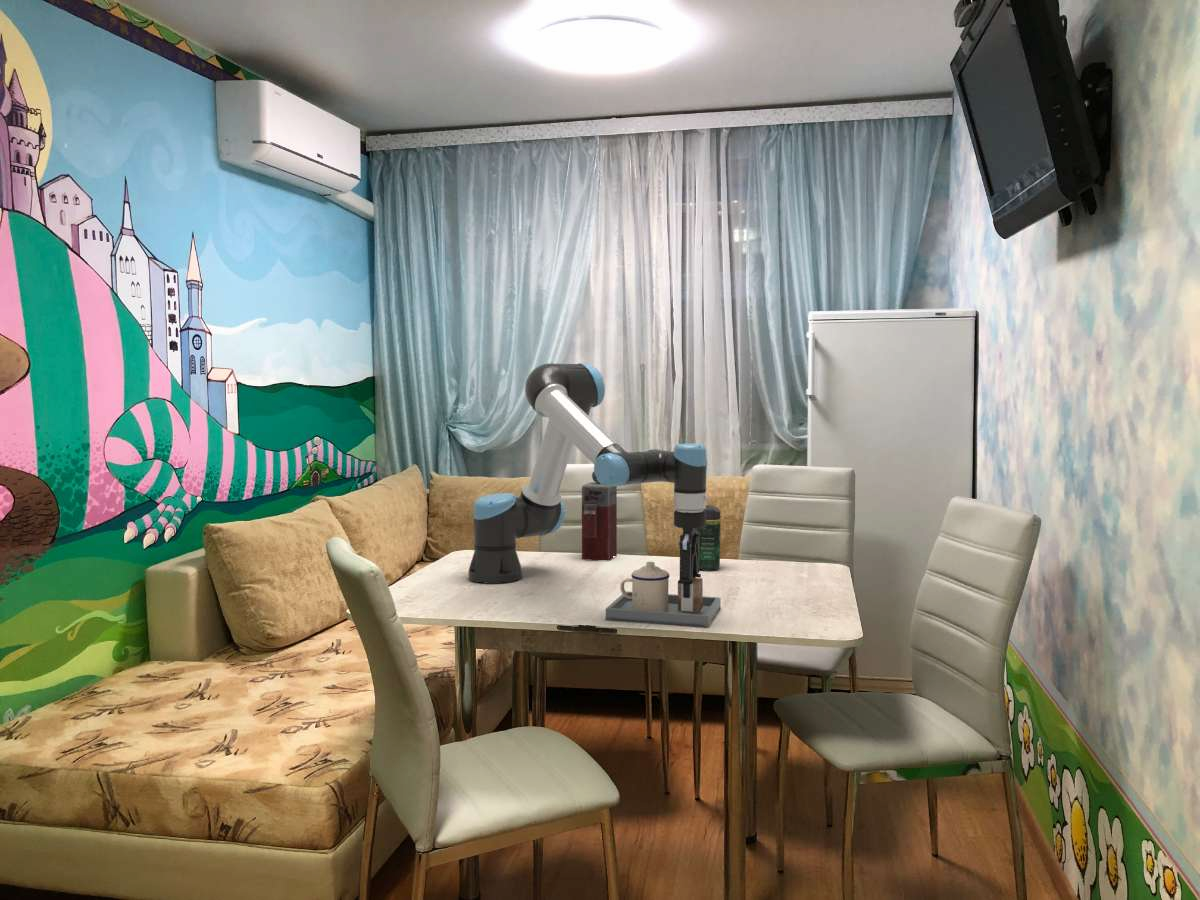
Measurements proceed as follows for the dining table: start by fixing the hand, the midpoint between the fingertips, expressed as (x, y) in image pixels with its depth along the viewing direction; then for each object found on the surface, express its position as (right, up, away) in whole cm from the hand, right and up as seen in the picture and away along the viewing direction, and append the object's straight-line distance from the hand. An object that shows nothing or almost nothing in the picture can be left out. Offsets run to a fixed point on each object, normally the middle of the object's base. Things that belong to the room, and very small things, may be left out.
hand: (689, 607), depth 210 cm
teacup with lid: (-10, -1, +3) cm, 11 cm away
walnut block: (0, 0, 0) cm, 0 cm away
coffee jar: (+11, +2, +54) cm, 55 cm away
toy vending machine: (-22, +3, +69) cm, 72 cm away
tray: (-6, -2, +2) cm, 6 cm away
